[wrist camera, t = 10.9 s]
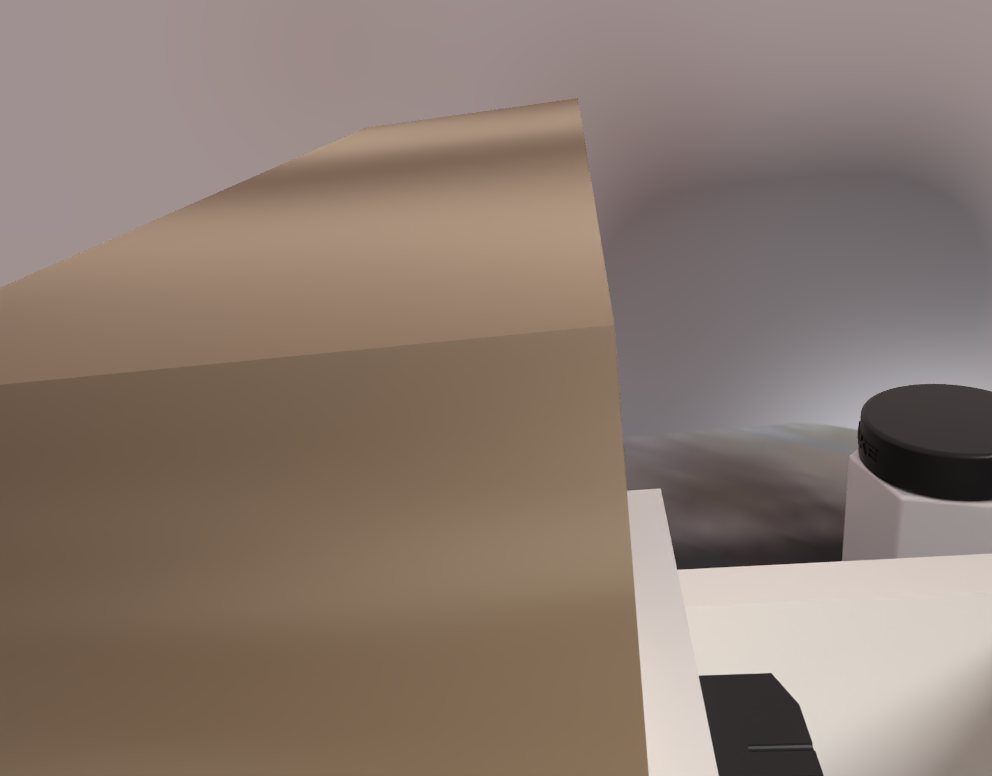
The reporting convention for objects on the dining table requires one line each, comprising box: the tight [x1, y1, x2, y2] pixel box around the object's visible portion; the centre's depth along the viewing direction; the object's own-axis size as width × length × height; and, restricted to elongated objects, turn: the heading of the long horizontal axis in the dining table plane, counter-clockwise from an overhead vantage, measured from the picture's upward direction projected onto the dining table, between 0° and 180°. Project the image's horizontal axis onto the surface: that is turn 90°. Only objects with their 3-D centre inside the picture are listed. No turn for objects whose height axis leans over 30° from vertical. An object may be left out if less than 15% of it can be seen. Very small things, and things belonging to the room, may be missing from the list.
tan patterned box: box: [0, 98, 649, 776], centre depth 12 cm, size 12×4×16 cm, turn 175°
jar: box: [842, 384, 992, 561], centre depth 41 cm, size 9×8×12 cm
